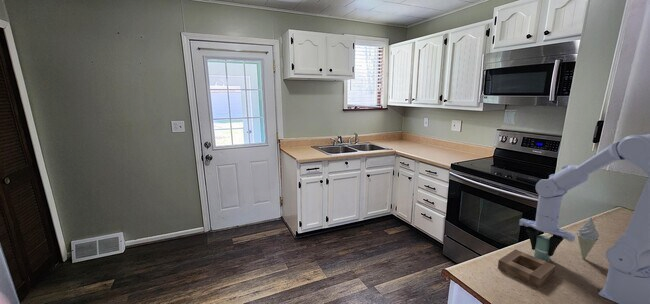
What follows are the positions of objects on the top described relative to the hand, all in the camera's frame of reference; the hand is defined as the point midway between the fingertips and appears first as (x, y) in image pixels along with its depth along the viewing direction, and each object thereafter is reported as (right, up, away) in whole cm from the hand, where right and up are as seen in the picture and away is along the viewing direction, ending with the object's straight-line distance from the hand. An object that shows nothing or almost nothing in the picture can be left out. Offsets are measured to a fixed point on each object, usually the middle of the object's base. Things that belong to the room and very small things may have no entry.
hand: (542, 252), depth 91 cm
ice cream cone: (+13, -2, -1) cm, 13 cm away
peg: (0, -2, 0) cm, 2 cm away
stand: (-11, -4, -7) cm, 13 cm away
